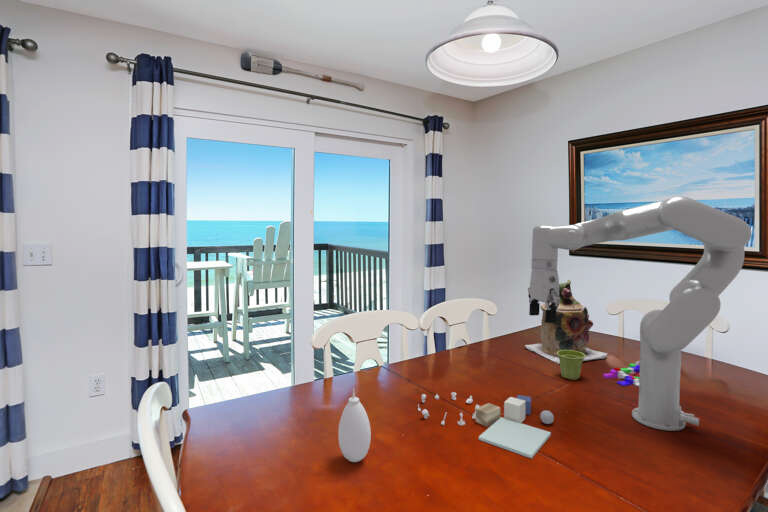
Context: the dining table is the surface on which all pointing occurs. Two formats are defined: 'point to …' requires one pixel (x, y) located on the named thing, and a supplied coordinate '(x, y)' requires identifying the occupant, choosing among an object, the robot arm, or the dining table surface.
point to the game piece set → (446, 412)
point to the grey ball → (546, 417)
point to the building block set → (626, 374)
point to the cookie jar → (566, 329)
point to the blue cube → (527, 404)
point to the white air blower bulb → (354, 431)
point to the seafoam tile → (515, 437)
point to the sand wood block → (487, 414)
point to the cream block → (514, 409)
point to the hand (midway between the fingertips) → (542, 318)
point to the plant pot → (570, 363)
